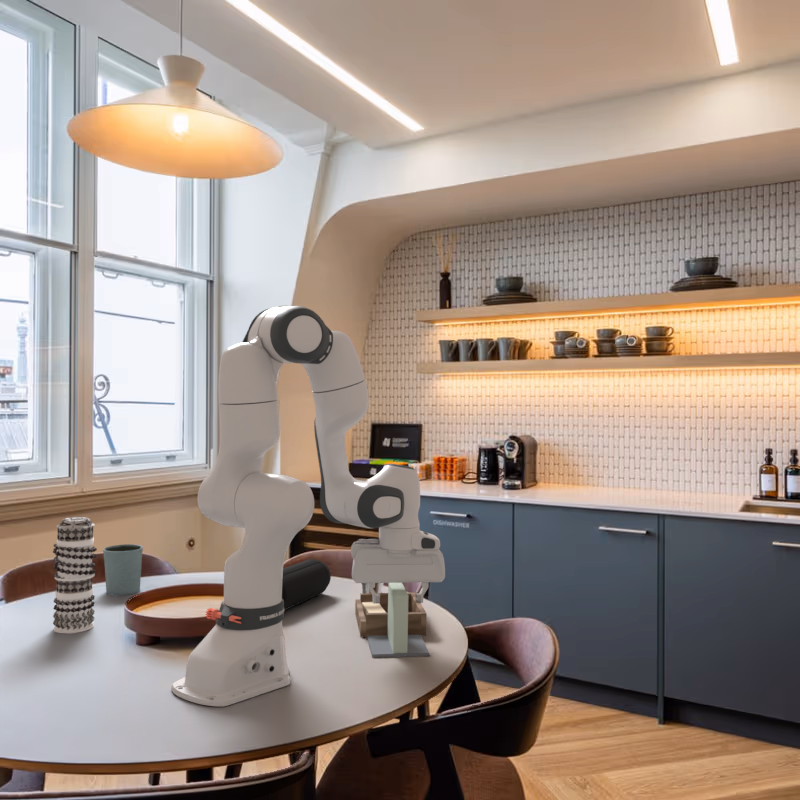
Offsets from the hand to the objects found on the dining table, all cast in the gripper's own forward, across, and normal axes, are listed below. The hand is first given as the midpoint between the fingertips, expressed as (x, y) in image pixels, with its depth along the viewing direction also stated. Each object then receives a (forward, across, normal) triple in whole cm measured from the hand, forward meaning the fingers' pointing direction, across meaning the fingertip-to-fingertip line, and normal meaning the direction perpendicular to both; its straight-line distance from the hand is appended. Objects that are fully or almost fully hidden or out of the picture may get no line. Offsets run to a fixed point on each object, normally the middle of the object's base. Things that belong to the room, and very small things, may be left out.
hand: (397, 602), depth 155 cm
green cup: (+10, -70, +50) cm, 86 cm away
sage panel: (+9, 0, 0) cm, 9 cm away
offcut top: (+8, -4, +16) cm, 18 cm away
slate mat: (+10, 0, 0) cm, 10 cm away
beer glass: (+10, -3, +32) cm, 33 cm away
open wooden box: (+10, 0, +16) cm, 19 cm away
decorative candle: (+10, -72, +18) cm, 75 cm away
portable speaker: (+10, -23, +34) cm, 43 cm away
